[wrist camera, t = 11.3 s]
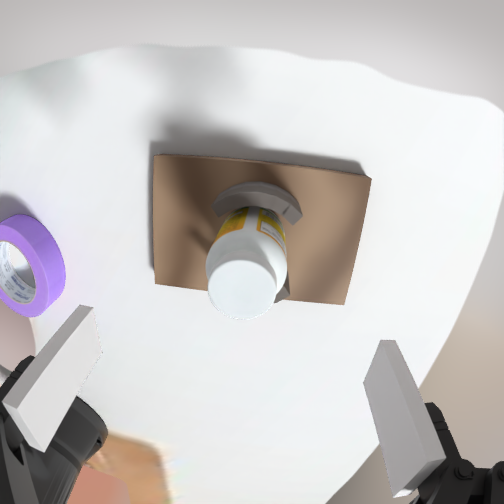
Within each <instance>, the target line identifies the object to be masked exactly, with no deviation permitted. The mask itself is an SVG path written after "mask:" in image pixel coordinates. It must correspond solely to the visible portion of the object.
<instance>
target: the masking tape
mask: <svg viewBox="0 0 504 504" xmlns="http://www.w3.org/2000/svg"><path fill="white" fill-rule="evenodd" d="M9 244H12V245H14V246H15V247H16V248H17V249H19V251H20V252H21V253H22V254H23V255H24V257H25V258H26V260H27V261H28V263H29V265H30V267H31V269H32V272H33V275H34V279H35V286H36V288H33V287H31V286H29V285H27V284H26V283H25V282H24V281H23V280H22V279H21V278H20V277H19V276H18V274H17V273H16V271H15V269H14V267H13V265H12V263H11V259H10V254H9ZM65 278H66V274H65V265H64V261H63V258H62V255H61V252H60V249H59V247H58V245H57V243H56V241H55V240H54V238H53V237H52V235H51V234H50V232H49V231H48V230H47V229H46V228H45V227H44V226H43V225H42V224H41V223H40V222H39V221H37V220H36V219H34V218H32V217H30V216H28V215H23V214H18V215H14V216H11V217H10V218H8V219H6V220H4V221H2V222H0V298H1V300H2V301H3V302H4V303H5V304H6V305H7V306H8V307H9V308H11V309H12V310H13V311H15V312H17V313H18V314H20V315H23V316H26V317H36V316H39V315H41V314H42V313H43V312H44V311H45V310H46V309H47V308H48V307H49V306H50V305H51V304H52V303H53V302H54V301H55V300H56V299H57V298H58V297H59V296H60V295H61V293H62V291H63V289H64V286H65Z"/></svg>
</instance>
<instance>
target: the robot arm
mask: <svg viewBox="0 0 504 504" xmlns="http://www.w3.org/2000/svg"><path fill="white" fill-rule="evenodd" d="M102 353H103V352H102V348H101V343H100V339H99V334H98V329H97V324H96V319H95V314H94V308H93V307H88V306H83V305H79V306H78V308H77V309H76V310H75V311H74V312H73V313H72V314H71V316H70V317H69V318H68V319H67V320H66V321H65V322H64V324H63V325H62V326H61V327H60V328H59V329H58V331H57V332H56V333H55V334H54V335H53V337H52V338H51V339H50V340H49V341H48V343H47V344H46V345H45V346H44V347H43V349H42V350H41V351H40V352H39V354H38V355H37V356H36V357H34V356H31V355H30V356H28V357H27V358H25V359H24V360H22V361H21V362H20V363H19V364H18V366H17V367H16V368H15V371H13V372H12V373H11V374H10V377H8V378H7V379H6V381H5V382H4V383H3V385H2V386H1V387H0V504H67V501H68V499H69V496H70V494H71V492H72V489H73V487H74V484H75V482H76V480H77V477H78V475H79V473H80V470H81V468H82V466H83V465H84V463H85V462H87V461H88V460H89V459H90V458H91V457H92V456H93V455H94V454H95V453H96V452H97V451H98V450H99V449H100V448H101V447H102V446H103V445H104V442H105V440H106V438H107V436H108V431H107V428H106V425H105V424H104V422H103V421H102V419H101V418H100V417H99V416H98V415H97V414H96V413H95V412H94V411H93V410H92V409H91V408H90V407H89V406H88V405H86V404H85V403H84V402H83V401H81V400H80V399H78V398H77V397H76V395H77V394H78V392H79V390H80V389H81V387H82V385H83V384H84V382H85V380H86V379H87V377H88V375H89V374H90V372H91V370H92V369H93V367H94V366H95V364H96V362H97V361H98V359H99V357H100V356H101V354H102ZM363 384H364V387H365V391H366V394H367V398H368V401H369V405H370V408H371V412H372V415H373V419H374V423H375V426H376V430H377V434H378V438H379V442H380V446H381V449H382V453H383V457H384V462H385V465H386V470H387V474H388V478H389V483H390V487H391V491H392V496H393V498H394V497H400V496H405V495H410V494H411V493H412V492H413V491H414V490H415V489H417V488H418V491H419V495H418V496H417V497H416V498H414V500H412V501H411V502H410V503H409V504H504V461H500V462H498V463H496V464H495V465H494V466H493V467H492V468H491V469H487V468H475V467H474V465H473V464H472V463H471V462H469V461H468V460H465V459H462V458H461V456H460V454H459V452H458V449H457V447H456V445H455V442H454V440H453V437H452V435H451V433H450V430H448V426H447V424H446V422H445V419H444V417H443V414H442V412H441V410H440V409H439V408H438V407H437V406H436V405H435V404H434V403H433V402H432V403H424V402H423V399H422V397H421V395H420V392H419V390H418V388H417V386H416V383H415V381H414V379H413V377H412V375H411V372H410V370H409V368H408V366H407V364H406V362H405V360H404V357H403V355H402V353H401V351H400V349H399V347H398V345H397V343H396V341H395V340H380V343H379V345H378V348H377V350H376V353H375V355H374V358H373V360H372V363H371V365H370V368H369V370H368V373H367V375H366V377H365V380H364V382H363Z"/></svg>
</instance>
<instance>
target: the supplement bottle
mask: <svg viewBox="0 0 504 504" xmlns="http://www.w3.org/2000/svg"><path fill="white" fill-rule="evenodd" d="M206 275H207V278H208V295H209V298H210V300H211V302H212V304H213V305H214V306H215V307H216V308H217V310H219V311H220V312H221V313H223V314H224V315H226V316H228V317H231V318H234V319H241V320H246V319H253V318H256V317H258V316H260V315H262V314H264V313H265V312H266V311H268V310H269V309H270V307H271V306H272V304H273V302H274V300H275V297H276V294H277V293H278V292H279V291H280V289H281V288H282V286H283V284H284V282H285V279H286V276H287V255H286V242H285V232H284V228H283V225H282V223H281V221H280V220H279V218H278V217H277V216H276V215H275V214H274V213H273V212H272V211H270V210H269V209H267V208H263V207H259V206H244V207H241V208H239V209H237V210H235V211H234V212H232V213H231V214H230V215H229V216H228V217H227V218H226V219H225V221H224V223H223V225H222V227H221V229H220V231H219V233H218V235H217V237H216V239H215V241H214V243H213V244H212V246H211V248H210V250H209V253H208V255H207V259H206Z"/></svg>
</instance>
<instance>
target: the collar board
mask: <svg viewBox="0 0 504 504" xmlns="http://www.w3.org/2000/svg"><path fill="white" fill-rule="evenodd" d="M371 180H372V179H371V178H370V177H368V176H365V175H360V174H354V173H348V172H341V171H335V170H328V169H322V168H314V167H307V166H300V165H292V164H283V163H275V162H266V161H256V160H246V159H235V158H223V157H209V156H194V155H175V154H158V155H155V156H154V167H153V246H154V273H155V284H160V285H167V286H174V287H182V288H189V289H197V290H205V291H208V278H207V275H206V259H207V255H208V253H209V250H210V248H211V246H212V244H213V243H214V241H215V239H216V237H217V235H218V233H219V231H220V229H221V227H222V225H223V223H224V221H225V219H226V218H227V217H228V216H229V215H230V214H231V213H232V212H234V211H235V210H237V209H239V208H241V207H244V206H259V207H263V208H267V209H269V210H270V211H272V212H273V213H274V214H275V215H276V216H277V217H278V218H279V220H280V221H281V223H282V225H283V228H284V232H285V242H286V255H287V276H286V279H285V282H284V284H283V286H282V288H281V289H280V291H279V292H278V293H277V294H276V297H275V300H274V302H273V303H277V302H279V301H281V300H293V301H304V302H315V303H326V304H337V305H344V303H345V299H346V295H347V292H348V288H349V284H350V280H351V276H352V272H353V268H354V263H355V259H356V255H357V250H358V246H359V241H360V237H361V232H362V227H363V223H364V218H365V213H366V208H367V202H368V197H369V191H370V186H371Z"/></svg>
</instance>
